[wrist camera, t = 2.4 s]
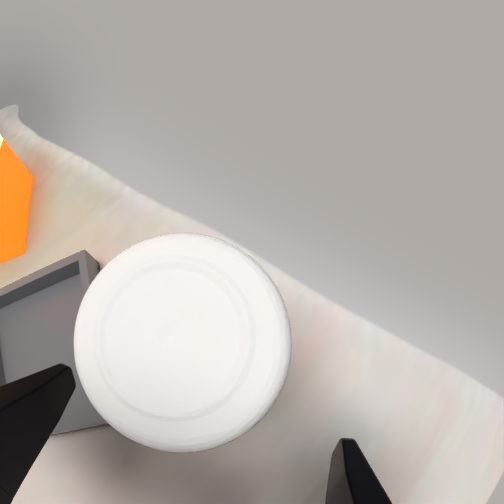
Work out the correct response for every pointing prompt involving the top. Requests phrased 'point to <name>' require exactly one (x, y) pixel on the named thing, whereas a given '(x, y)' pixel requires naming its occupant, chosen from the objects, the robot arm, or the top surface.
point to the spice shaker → (182, 342)
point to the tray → (48, 330)
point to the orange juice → (13, 203)
